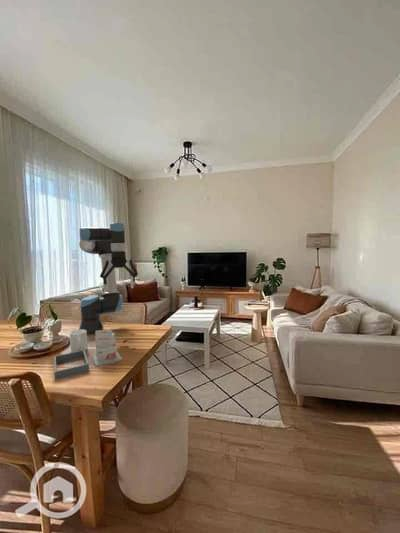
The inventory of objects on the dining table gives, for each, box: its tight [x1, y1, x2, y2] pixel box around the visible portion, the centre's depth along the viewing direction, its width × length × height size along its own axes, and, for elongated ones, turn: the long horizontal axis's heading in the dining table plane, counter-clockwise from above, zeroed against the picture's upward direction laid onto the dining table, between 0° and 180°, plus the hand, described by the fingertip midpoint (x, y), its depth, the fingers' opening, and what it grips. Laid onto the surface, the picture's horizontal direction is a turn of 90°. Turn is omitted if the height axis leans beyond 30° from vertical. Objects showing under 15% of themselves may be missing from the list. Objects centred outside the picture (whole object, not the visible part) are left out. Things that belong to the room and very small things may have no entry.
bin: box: [53, 350, 90, 381], centre depth 117 cm, size 18×13×4 cm
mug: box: [69, 329, 88, 353], centre depth 135 cm, size 12×8×10 cm
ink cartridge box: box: [94, 329, 117, 360], centre depth 124 cm, size 9×5×15 cm, turn 95°
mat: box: [91, 349, 123, 368], centre depth 125 cm, size 12×12×1 cm
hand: (120, 289), depth 139 cm, fingers open, 13 cm apart
